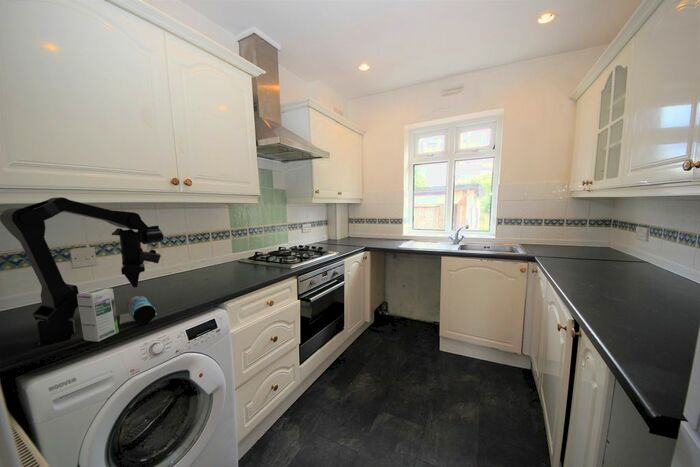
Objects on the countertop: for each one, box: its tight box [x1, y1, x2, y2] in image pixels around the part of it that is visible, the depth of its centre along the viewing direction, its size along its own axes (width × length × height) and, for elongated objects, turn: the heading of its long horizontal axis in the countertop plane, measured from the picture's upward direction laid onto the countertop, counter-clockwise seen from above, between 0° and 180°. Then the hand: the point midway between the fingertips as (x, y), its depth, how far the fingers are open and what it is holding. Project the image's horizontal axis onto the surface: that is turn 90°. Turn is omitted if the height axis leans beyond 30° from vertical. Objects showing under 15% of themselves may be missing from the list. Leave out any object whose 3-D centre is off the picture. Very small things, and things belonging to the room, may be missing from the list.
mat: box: [119, 307, 158, 325], centre depth 93 cm, size 10×8×1 cm
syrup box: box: [77, 287, 120, 343], centre depth 78 cm, size 6×6×14 cm
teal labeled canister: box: [126, 295, 157, 324], centre depth 91 cm, size 6×6×15 cm
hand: (135, 287), depth 97 cm, fingers closed
